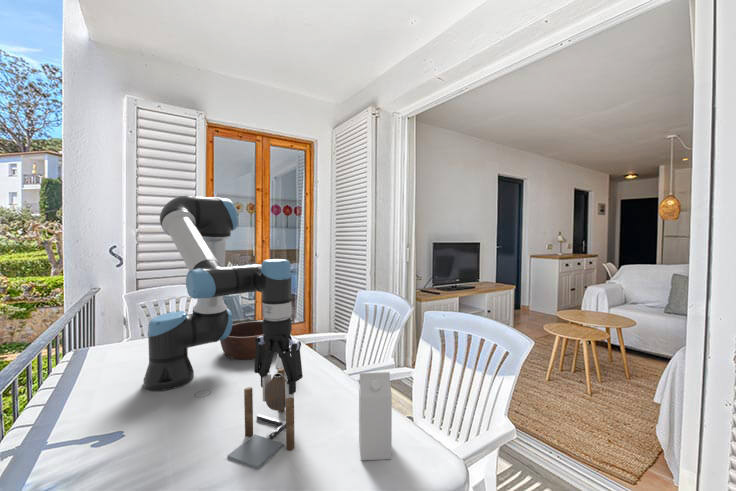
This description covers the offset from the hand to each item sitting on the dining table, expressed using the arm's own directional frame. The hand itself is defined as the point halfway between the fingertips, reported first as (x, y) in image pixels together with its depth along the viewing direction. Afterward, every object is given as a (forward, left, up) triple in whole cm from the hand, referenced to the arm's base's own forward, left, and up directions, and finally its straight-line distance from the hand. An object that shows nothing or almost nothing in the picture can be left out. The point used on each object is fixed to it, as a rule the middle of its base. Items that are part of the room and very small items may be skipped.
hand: (278, 401), depth 92 cm
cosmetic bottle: (-24, +33, -7) cm, 42 cm away
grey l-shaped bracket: (-2, -3, -7) cm, 7 cm away
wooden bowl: (-47, +40, -7) cm, 62 cm away
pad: (+2, -11, -7) cm, 13 cm away
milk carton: (+28, +1, -7) cm, 29 cm away
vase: (0, 0, -2) cm, 2 cm away
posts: (+2, 0, -7) cm, 7 cm away
